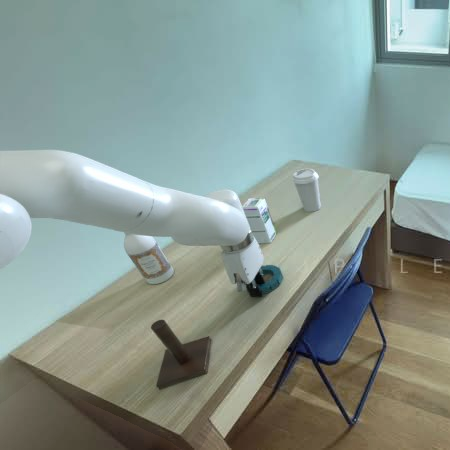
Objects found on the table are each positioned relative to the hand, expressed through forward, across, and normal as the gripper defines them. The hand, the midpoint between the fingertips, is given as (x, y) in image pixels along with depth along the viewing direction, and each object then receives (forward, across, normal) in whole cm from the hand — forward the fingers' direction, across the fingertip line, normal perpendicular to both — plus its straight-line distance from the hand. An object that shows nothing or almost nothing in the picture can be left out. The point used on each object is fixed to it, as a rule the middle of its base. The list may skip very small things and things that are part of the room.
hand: (258, 291), depth 85 cm
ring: (0, -4, 0) cm, 4 cm away
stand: (0, +21, -7) cm, 22 cm away
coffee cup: (0, -45, +2) cm, 45 cm away
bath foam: (0, -6, -33) cm, 33 cm away
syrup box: (0, -24, -8) cm, 26 cm away
